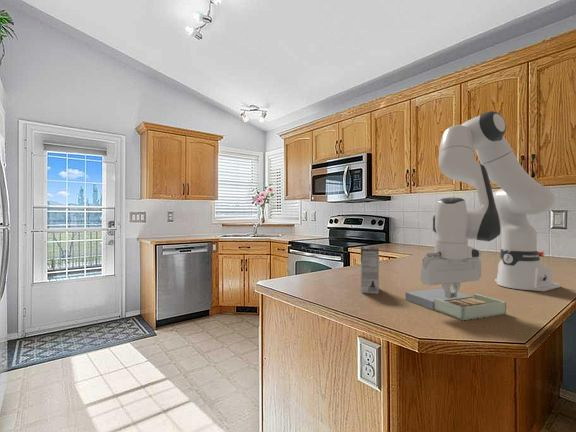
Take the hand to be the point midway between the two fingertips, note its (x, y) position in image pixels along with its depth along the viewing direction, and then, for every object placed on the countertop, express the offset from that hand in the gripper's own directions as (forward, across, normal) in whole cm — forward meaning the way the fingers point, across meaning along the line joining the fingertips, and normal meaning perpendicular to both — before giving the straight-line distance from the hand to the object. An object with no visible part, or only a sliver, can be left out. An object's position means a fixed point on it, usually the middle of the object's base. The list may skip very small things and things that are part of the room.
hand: (450, 297), depth 97 cm
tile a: (+3, +6, -2) cm, 7 cm away
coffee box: (+4, -10, +28) cm, 30 cm away
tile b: (+3, 0, -2) cm, 4 cm away
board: (+4, +2, +8) cm, 9 cm away
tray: (+4, +3, -4) cm, 6 cm away
